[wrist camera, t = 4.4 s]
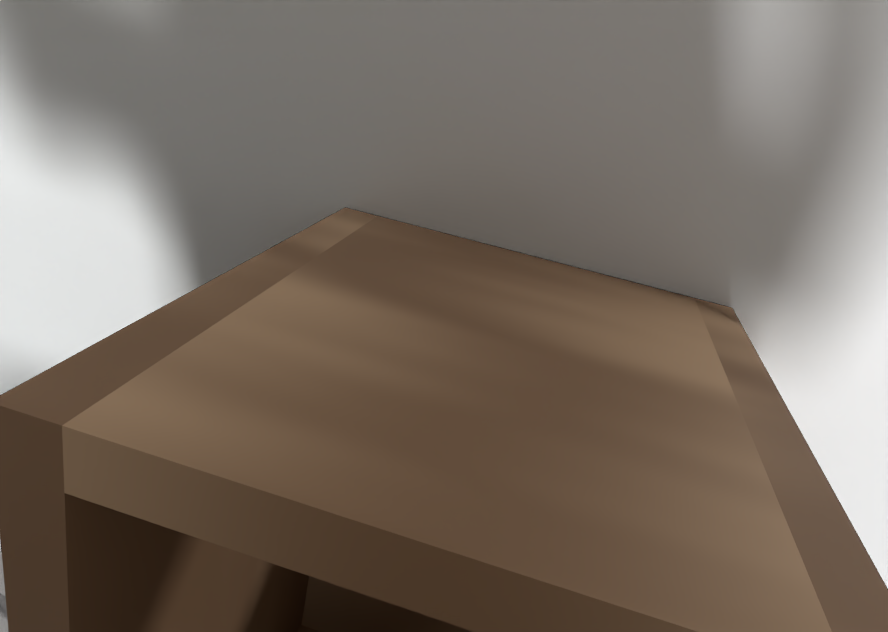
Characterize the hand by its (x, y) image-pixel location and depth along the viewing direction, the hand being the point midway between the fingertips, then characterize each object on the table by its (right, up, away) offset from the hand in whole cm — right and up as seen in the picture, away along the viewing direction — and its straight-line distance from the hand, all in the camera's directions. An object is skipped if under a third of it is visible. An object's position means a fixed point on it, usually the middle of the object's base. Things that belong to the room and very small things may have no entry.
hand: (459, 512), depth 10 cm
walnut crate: (0, 0, +1) cm, 1 cm away
